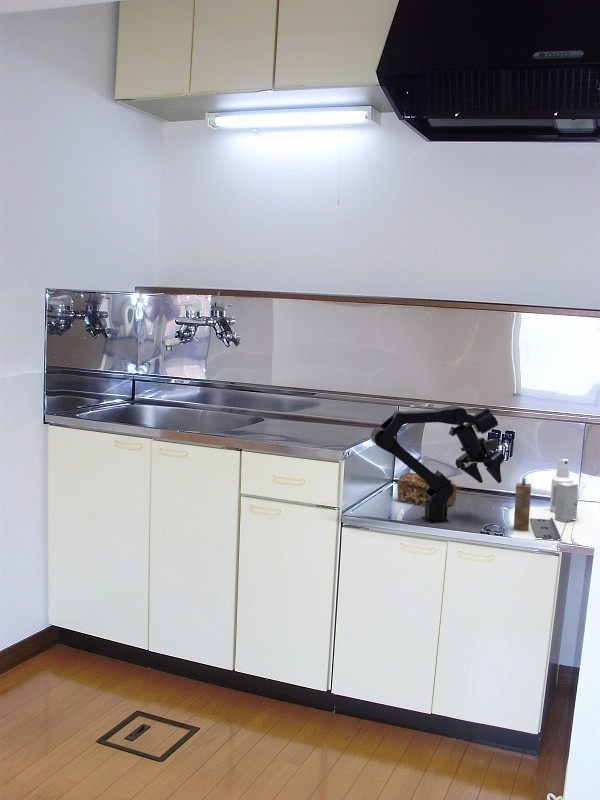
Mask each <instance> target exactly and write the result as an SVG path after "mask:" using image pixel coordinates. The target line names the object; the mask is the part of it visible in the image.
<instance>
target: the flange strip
mask: <svg viewBox="0 0 600 800" xmlns="http://www.w3.org/2000/svg"><path fill="white" fill-rule="evenodd" d="M529 524H530V525H531V529H532V531H533V534H534V538H535V537H536V538H542V539H553V540H552V541H554V540H558V539H560V540H561V535H560V532H559V530H558V528H557V526H556V523H555V521H554V519H553V517H550V518H549V519H547V518H533V517H531V518H530V517H529ZM536 538H535V539H536Z"/></svg>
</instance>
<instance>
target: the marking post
mask: <svg viewBox="0 0 600 800" xmlns="http://www.w3.org/2000/svg"><path fill="white" fill-rule="evenodd" d="M531 493H532V483H531V484H530V483H526V478H522V480H521V483H520V482H516V484H515V496H514V497H515V498H514V499H515V500H514V519H513V531H522V532H529V528H530V513H531V512H530V510H531Z"/></svg>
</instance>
